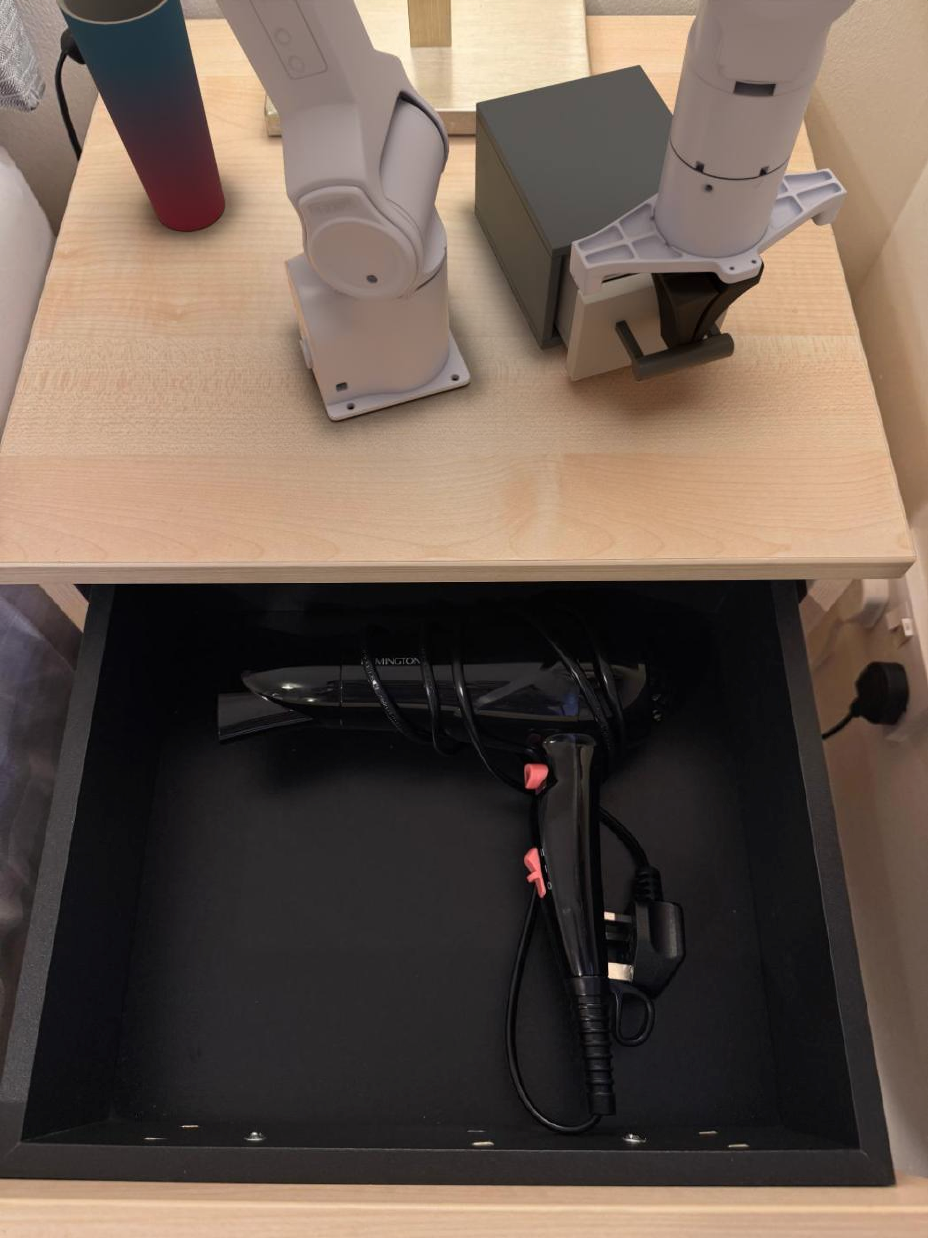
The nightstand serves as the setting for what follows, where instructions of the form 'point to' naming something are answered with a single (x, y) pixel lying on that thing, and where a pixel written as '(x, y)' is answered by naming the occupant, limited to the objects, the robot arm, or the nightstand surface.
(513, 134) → the cabinet
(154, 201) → the cup
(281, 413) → the nightstand surface
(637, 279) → the drawer
